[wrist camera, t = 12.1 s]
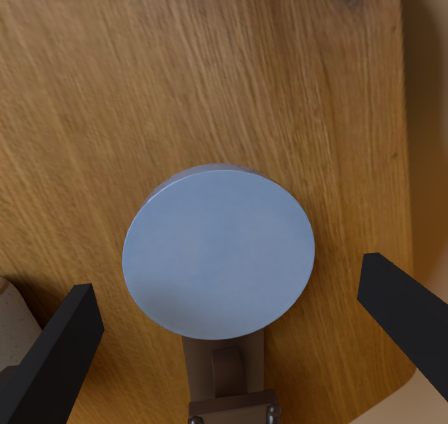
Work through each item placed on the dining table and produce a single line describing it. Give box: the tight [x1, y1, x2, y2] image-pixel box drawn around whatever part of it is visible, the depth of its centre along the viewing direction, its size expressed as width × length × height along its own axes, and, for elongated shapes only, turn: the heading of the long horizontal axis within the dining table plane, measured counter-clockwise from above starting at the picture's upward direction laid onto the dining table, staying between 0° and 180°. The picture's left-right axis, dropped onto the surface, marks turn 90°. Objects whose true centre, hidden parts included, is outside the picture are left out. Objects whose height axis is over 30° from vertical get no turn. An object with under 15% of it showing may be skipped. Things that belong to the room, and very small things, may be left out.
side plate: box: [122, 163, 315, 340], centre depth 16 cm, size 11×11×2 cm
